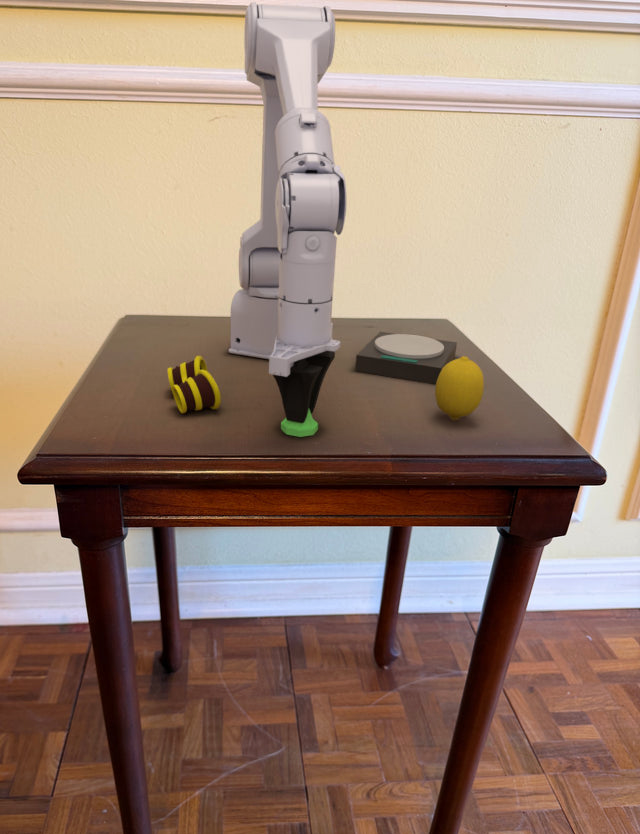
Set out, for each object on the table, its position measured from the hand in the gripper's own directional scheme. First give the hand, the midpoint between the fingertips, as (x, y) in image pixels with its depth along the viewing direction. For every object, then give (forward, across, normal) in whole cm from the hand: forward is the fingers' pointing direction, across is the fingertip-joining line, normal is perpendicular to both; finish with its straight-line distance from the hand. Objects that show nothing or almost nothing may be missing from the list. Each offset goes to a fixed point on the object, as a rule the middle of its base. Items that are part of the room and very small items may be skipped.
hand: (299, 416), depth 78 cm
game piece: (+2, 0, 0) cm, 2 cm away
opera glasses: (+2, +2, +15) cm, 15 cm away
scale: (+2, +28, -6) cm, 29 cm away
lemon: (+2, +11, -16) cm, 19 cm away
